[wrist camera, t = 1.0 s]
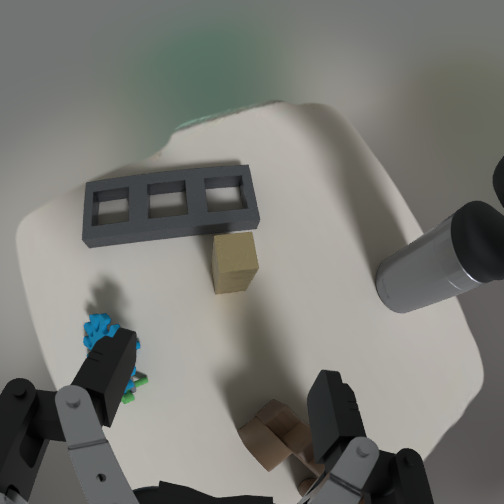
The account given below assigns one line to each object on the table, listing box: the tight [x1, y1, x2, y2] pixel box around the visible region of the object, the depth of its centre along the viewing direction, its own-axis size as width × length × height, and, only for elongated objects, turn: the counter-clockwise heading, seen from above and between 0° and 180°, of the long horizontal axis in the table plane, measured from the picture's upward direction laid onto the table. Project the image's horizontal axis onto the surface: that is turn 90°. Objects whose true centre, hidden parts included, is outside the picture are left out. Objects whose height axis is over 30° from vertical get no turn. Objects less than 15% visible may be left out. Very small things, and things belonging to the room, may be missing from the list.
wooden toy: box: [237, 400, 365, 504], centre depth 22 cm, size 15×7×25 cm, turn 40°
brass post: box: [211, 232, 259, 295], centre depth 36 cm, size 4×4×10 cm
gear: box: [83, 313, 148, 404], centre depth 33 cm, size 11×6×10 cm
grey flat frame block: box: [82, 165, 260, 248], centre depth 41 cm, size 24×9×3 cm, turn 100°
